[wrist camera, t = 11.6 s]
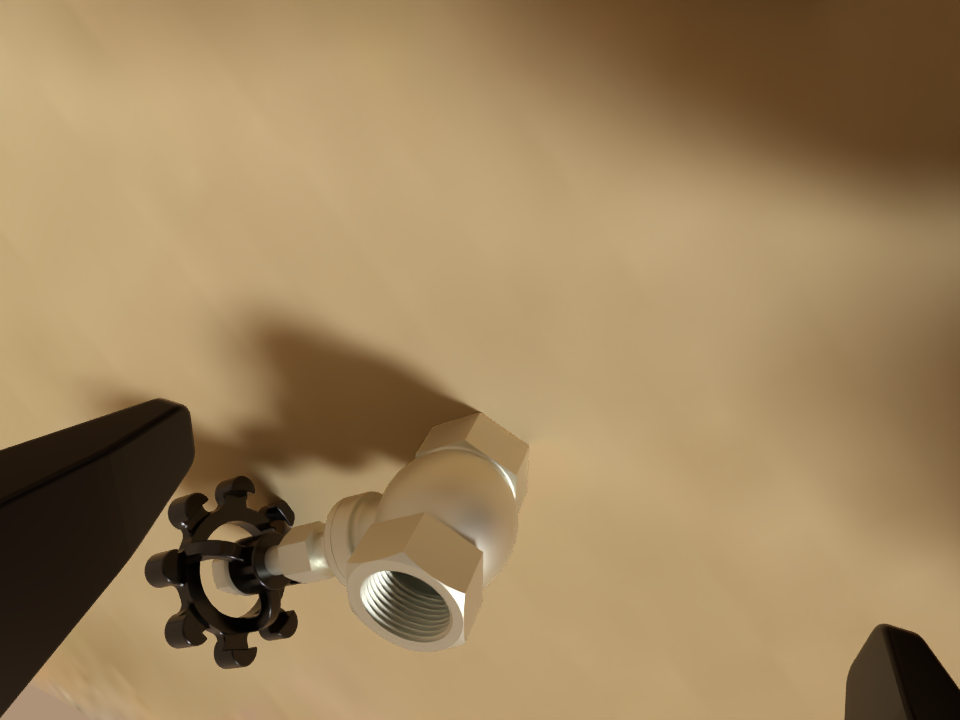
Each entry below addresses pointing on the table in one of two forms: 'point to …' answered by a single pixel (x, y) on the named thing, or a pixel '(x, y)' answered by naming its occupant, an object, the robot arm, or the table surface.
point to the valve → (359, 548)
